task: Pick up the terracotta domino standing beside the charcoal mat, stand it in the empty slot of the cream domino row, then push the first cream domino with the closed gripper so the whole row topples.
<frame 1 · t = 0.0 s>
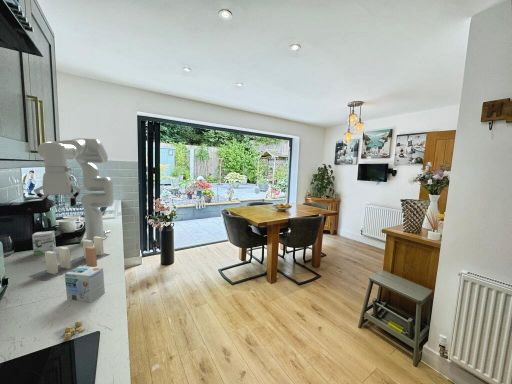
hand: (60, 206, 101), 31 cm above the table, tool pointing down, fingers open, 9 cm apart
mat: (73, 264, 110), on the table
domino 2: (89, 258, 117), resting on mat
domino 1: (99, 254, 122), resting on mat
terracotta domino: (91, 266, 109), on the table
domino 5: (52, 272, 101), resting on mat
domino 4: (66, 267, 107), resting on mat
light bulb box: (86, 296, 85), on the table
dice set: (73, 334, 67), on the table
ink box: (45, 252, 124), on the table
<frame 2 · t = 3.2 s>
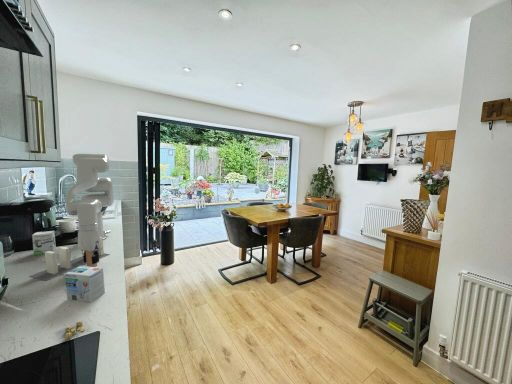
hand: (91, 261, 108), 2 cm above the table, tool pointing down, fingers closed on terracotta domino, 4 cm apart
terracotta domino: (91, 266, 109), on the table, touching gripper
everything else where it was.
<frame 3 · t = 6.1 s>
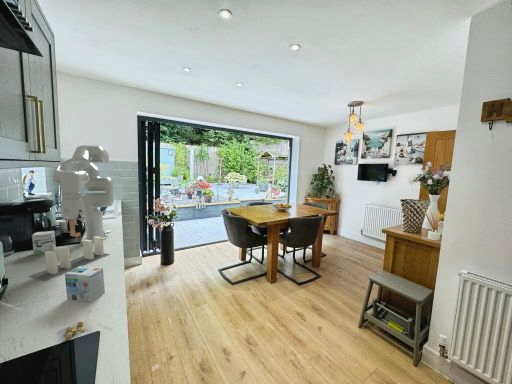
hand: (75, 231, 110), 17 cm above the table, tool pointing down, fingers closed on terracotta domino, 4 cm apart
terracotta domino: (75, 235, 110), point 15 cm above the table, touching gripper
everything else where it was.
when the fingers open (4 cm above the table, at t = 8.9 s): terracotta domino stays where it is, resting on mat.
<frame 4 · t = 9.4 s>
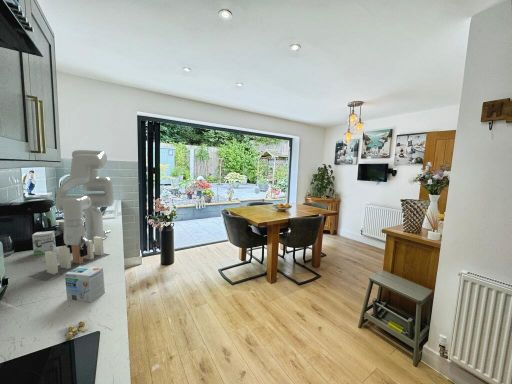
hand: (77, 254, 111), 5 cm above the table, tool pointing down, fingers open, 9 cm apart
terracotta domino: (78, 262, 112), resting on mat
everything else where it was.
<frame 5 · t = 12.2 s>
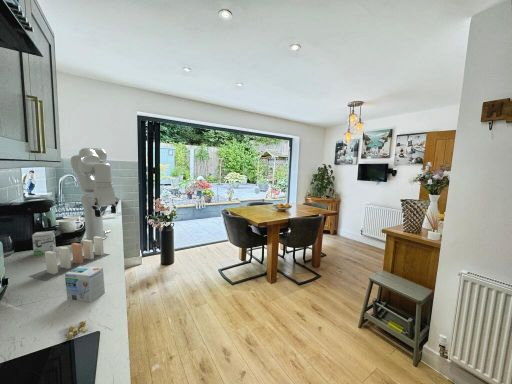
hand: (106, 214, 125), 22 cm above the table, tool pointing down, fingers open, 8 cm apart
nothing on the table moved.
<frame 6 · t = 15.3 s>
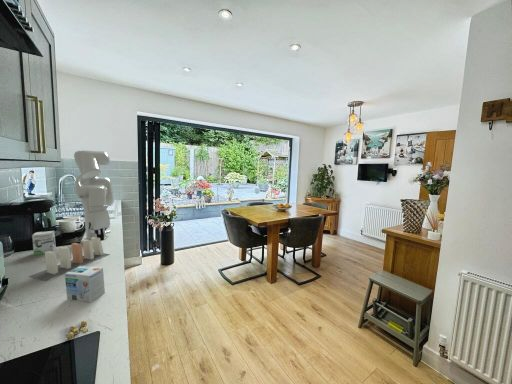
hand: (100, 240, 122), 8 cm above the table, tool pointing down, fingers closed
domino 1: (99, 254, 122), point 1 cm above the table, tilted 8°, touching gripper, mat
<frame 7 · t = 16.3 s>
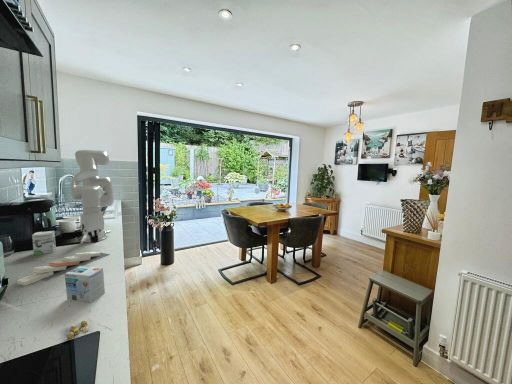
hand: (94, 242, 119), 8 cm above the table, tool pointing down, fingers closed
domino 2: (87, 257, 116), point 1 cm above the table, tilted 73°, touching domino 1, mat, terracotta domino
domino 1: (97, 253, 121), point 1 cm above the table, tilted 73°, touching domino 2, mat
terracotta domino: (76, 261, 111), point 1 cm above the table, tilted 73°, touching domino 2, domino 4, mat
domino 5: (49, 271, 100), point 1 cm above the table, tilted 90°, touching domino 4, mat
domino 4: (62, 267, 105), point 1 cm above the table, tilted 72°, touching domino 5, mat, terracotta domino
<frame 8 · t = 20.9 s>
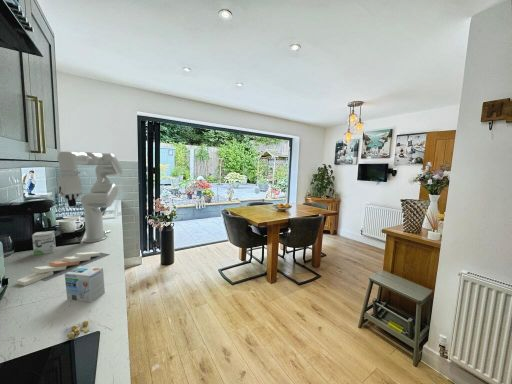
hand: (72, 206, 123), 27 cm above the table, tool pointing down, fingers closed
at the end: domino 5 tilted 90°; terracotta domino inside the target area (0.6 cm from its centre), point 1.2 cm above the table; terracotta domino tilted 73° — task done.
